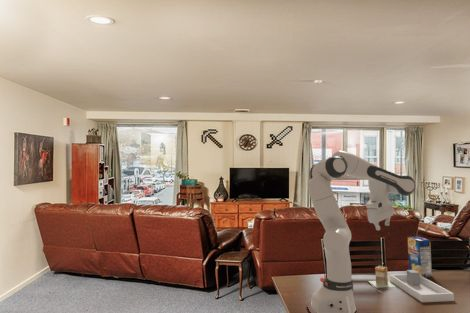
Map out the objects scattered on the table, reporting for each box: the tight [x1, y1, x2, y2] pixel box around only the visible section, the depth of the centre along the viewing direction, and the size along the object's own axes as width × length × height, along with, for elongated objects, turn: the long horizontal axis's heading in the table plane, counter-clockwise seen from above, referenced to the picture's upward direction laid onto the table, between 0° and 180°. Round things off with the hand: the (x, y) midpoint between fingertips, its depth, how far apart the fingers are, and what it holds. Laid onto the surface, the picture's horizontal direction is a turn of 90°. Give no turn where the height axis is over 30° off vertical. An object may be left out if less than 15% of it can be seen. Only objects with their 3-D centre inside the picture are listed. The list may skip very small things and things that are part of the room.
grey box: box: [406, 269, 420, 286], centre depth 177 cm, size 4×4×7 cm
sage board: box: [367, 280, 397, 290], centre depth 179 cm, size 11×10×1 cm
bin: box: [389, 273, 455, 303], centre depth 168 cm, size 16×29×4 cm, turn 2°
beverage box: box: [407, 235, 433, 278], centre depth 194 cm, size 7×11×22 cm, turn 7°
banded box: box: [374, 265, 389, 286], centre depth 179 cm, size 5×5×9 cm
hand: (382, 227), depth 169 cm, fingers open, 8 cm apart
